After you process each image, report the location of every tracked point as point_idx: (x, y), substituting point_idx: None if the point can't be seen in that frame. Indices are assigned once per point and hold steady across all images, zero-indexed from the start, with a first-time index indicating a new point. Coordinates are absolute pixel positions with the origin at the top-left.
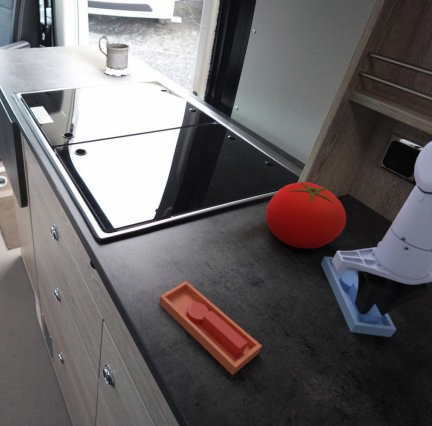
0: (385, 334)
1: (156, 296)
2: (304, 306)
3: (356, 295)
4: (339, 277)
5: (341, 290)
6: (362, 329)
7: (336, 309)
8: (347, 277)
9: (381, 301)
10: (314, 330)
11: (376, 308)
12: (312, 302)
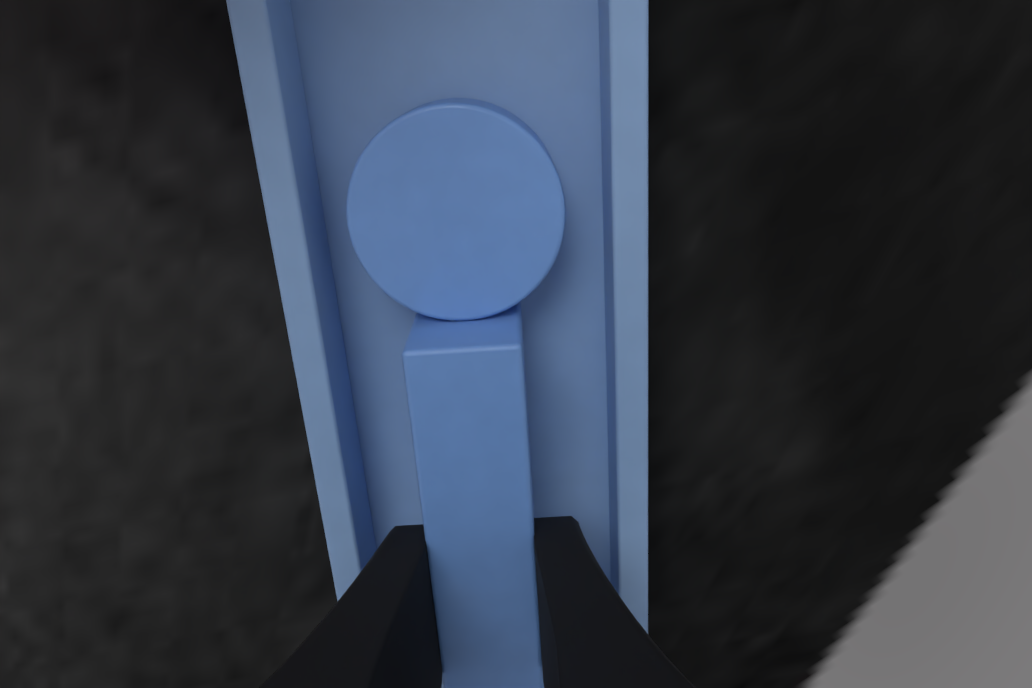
0: None
1: None
2: (66, 489)
3: (364, 567)
4: (391, 93)
5: (311, 391)
6: None
7: (312, 466)
8: (412, 187)
9: (547, 669)
10: (135, 664)
11: (528, 626)
12: (129, 437)
